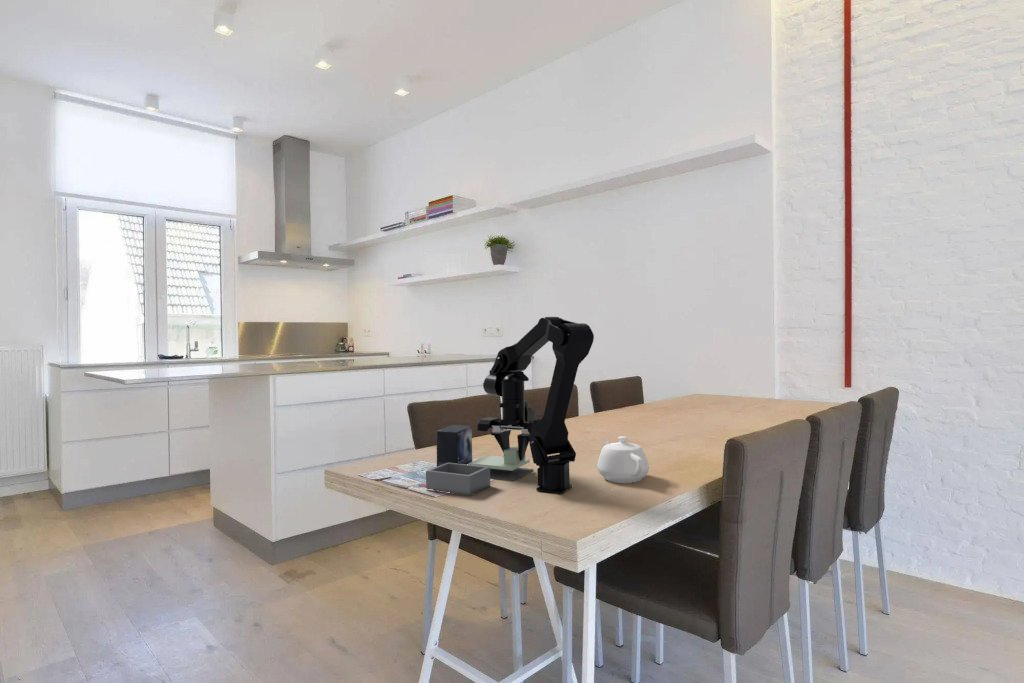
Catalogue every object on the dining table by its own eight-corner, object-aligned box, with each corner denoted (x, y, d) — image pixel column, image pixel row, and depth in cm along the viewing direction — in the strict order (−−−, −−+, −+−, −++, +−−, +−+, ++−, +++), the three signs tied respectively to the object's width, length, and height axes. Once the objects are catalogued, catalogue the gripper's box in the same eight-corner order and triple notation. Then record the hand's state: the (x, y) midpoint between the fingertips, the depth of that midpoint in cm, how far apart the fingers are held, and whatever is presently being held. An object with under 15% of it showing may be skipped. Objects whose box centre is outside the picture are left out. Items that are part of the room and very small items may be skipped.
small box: (458, 471, 149) (457, 431, 149) (435, 470, 151) (434, 430, 151) (473, 462, 159) (472, 424, 159) (452, 461, 161) (451, 424, 161)
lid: (529, 463, 148) (529, 445, 148) (512, 472, 139) (511, 453, 139) (487, 459, 154) (487, 442, 154) (468, 467, 145) (468, 449, 145)
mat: (533, 470, 148) (533, 469, 148) (513, 481, 138) (513, 479, 138) (487, 465, 155) (487, 464, 155) (465, 475, 145) (465, 473, 145)
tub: (490, 485, 135) (490, 467, 134) (470, 496, 127) (469, 476, 127) (448, 480, 140) (447, 462, 140) (426, 490, 132) (425, 470, 132)
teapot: (583, 470, 148) (582, 431, 147) (627, 466, 151) (626, 428, 150) (616, 491, 128) (615, 446, 128) (665, 486, 131) (665, 442, 131)
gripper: (559, 396, 147) (561, 456, 147) (497, 393, 156) (498, 450, 156) (541, 401, 137) (543, 465, 137) (475, 398, 146) (477, 459, 146)
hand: (514, 459), depth 144 cm, fingers closed on lid, 3 cm apart
